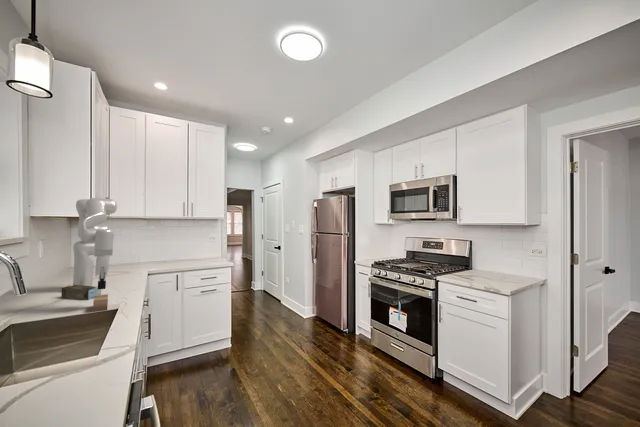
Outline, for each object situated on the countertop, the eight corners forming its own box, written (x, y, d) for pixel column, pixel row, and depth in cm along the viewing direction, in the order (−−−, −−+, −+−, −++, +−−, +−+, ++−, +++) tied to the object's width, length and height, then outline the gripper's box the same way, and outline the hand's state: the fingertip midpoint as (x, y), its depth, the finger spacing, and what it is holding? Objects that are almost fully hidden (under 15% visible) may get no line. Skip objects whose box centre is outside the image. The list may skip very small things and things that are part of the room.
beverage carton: (87, 300, 156) (88, 288, 156) (60, 298, 159) (60, 286, 159) (101, 297, 163) (102, 285, 164) (74, 295, 167) (75, 284, 167)
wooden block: (94, 295, 145) (93, 300, 135) (108, 294, 148) (107, 299, 139) (94, 306, 145) (92, 312, 135) (107, 304, 148) (107, 310, 138)
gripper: (94, 252, 149) (92, 287, 148) (93, 254, 137) (91, 292, 136) (112, 251, 153) (110, 285, 152) (112, 254, 141) (110, 290, 140)
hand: (101, 288), depth 144 cm, fingers closed
